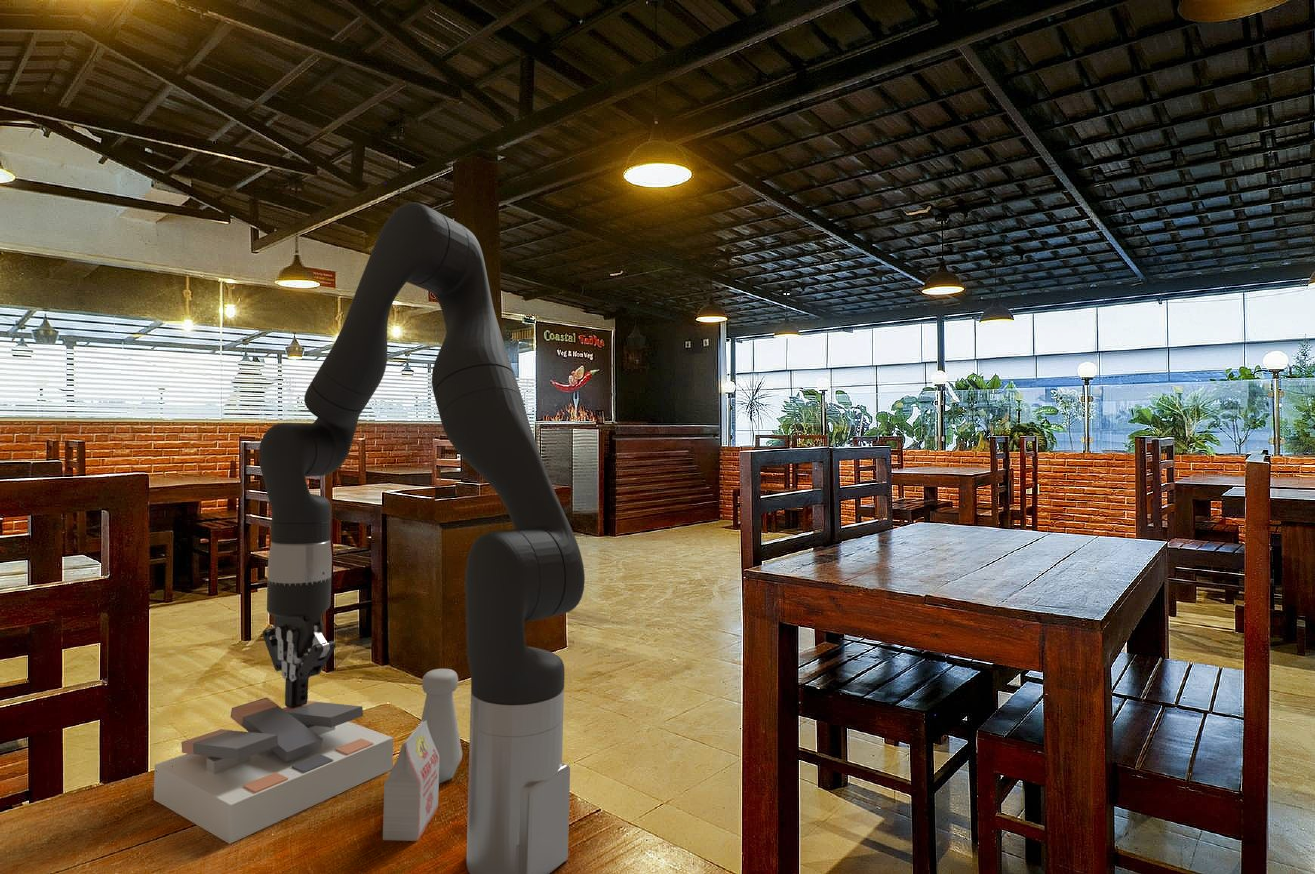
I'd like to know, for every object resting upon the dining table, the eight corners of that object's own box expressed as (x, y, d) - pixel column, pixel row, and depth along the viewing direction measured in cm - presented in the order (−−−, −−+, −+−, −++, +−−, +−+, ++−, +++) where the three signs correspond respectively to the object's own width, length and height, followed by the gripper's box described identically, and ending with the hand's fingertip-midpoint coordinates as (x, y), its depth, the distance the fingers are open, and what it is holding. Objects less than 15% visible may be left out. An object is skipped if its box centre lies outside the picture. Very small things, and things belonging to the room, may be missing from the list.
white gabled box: (382, 840, 75) (385, 744, 75) (405, 806, 81) (408, 719, 82) (417, 841, 75) (420, 745, 75) (438, 807, 81) (440, 720, 81)
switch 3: (363, 716, 90) (362, 706, 90) (331, 727, 86) (330, 717, 86) (306, 710, 96) (305, 700, 96) (274, 720, 92) (273, 710, 92)
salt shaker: (453, 788, 86) (456, 680, 86) (406, 786, 86) (408, 678, 86) (467, 766, 92) (469, 665, 92) (423, 764, 92) (425, 663, 92)
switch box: (392, 769, 90) (393, 726, 90) (229, 844, 73) (231, 791, 73) (315, 738, 99) (316, 699, 99) (153, 799, 81) (154, 752, 81)
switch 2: (321, 748, 85) (322, 738, 85) (285, 762, 82) (287, 752, 81) (265, 706, 91) (267, 697, 91) (230, 717, 88) (231, 707, 88)
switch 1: (278, 745, 80) (277, 734, 81) (238, 760, 77) (237, 748, 77) (221, 739, 87) (220, 729, 87) (182, 752, 83) (181, 741, 83)
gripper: (357, 577, 93) (352, 709, 94) (297, 564, 100) (293, 687, 100) (303, 586, 87) (298, 728, 87) (243, 572, 94) (239, 703, 94)
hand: (295, 706), depth 94 cm, fingers closed
